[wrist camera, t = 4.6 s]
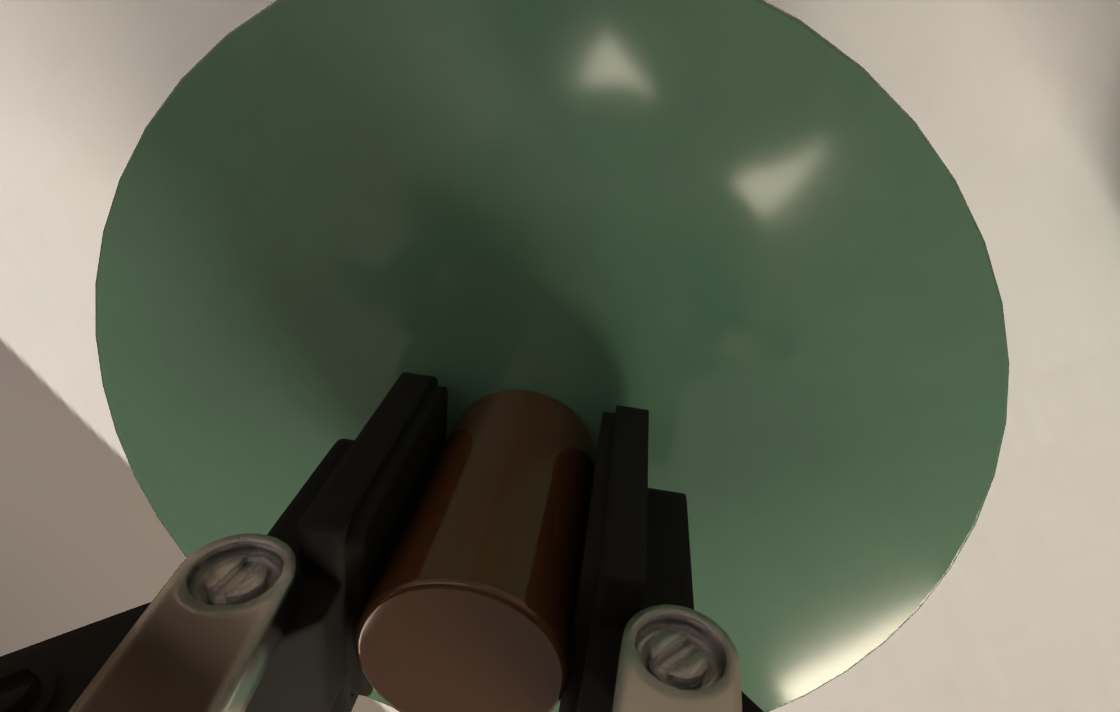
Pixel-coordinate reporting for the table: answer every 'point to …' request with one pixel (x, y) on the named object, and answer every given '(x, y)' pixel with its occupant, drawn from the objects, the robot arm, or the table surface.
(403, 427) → the robot arm
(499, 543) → the bowl lid
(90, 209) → the table surface
